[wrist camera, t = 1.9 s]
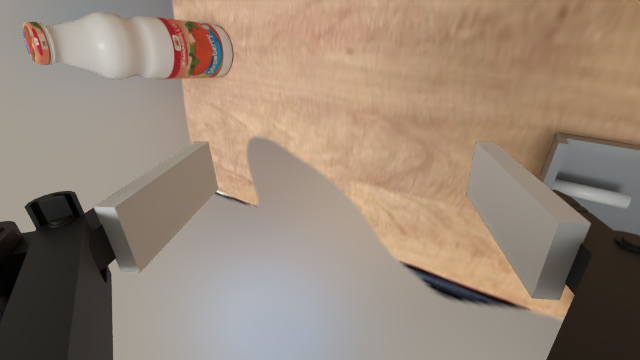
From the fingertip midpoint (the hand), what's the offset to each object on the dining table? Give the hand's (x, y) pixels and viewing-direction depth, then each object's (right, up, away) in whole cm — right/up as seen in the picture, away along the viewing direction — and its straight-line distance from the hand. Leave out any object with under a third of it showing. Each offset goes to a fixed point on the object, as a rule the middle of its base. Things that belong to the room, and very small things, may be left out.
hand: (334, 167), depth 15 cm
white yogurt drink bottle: (-21, +24, +44) cm, 54 cm away
